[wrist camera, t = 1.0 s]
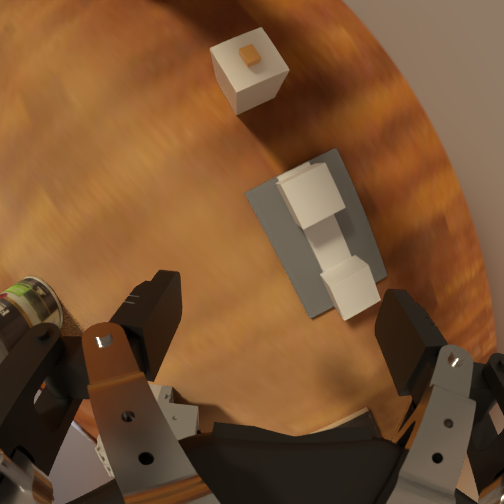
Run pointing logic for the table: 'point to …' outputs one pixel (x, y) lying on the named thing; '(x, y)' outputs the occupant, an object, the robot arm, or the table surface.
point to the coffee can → (26, 311)
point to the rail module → (248, 69)
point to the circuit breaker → (177, 416)
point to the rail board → (321, 235)
